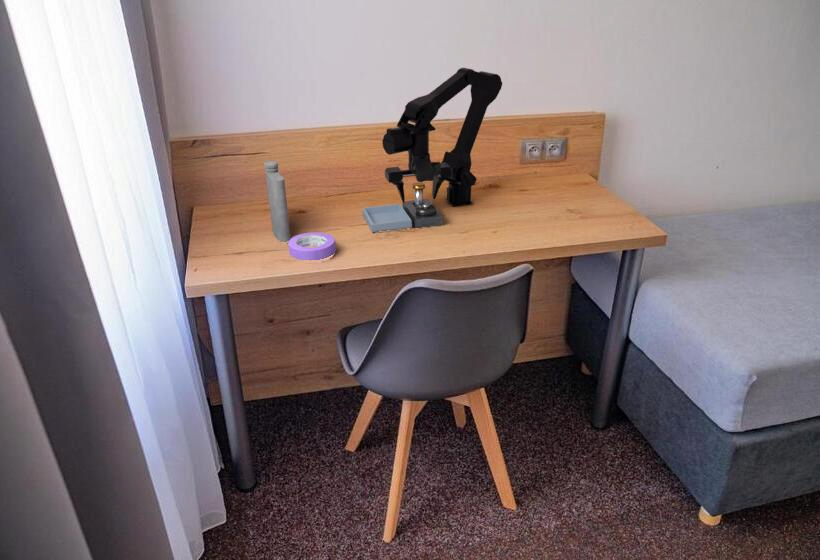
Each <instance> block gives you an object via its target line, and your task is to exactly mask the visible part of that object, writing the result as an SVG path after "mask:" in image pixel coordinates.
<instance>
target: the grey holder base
mask: <svg viewBox="0 0 820 560" xmlns="http://www.w3.org/2000/svg"><path fill="white" fill-rule="evenodd" d="M401 203H402V208H403V209H404V210H405V212H406V213H407V215H408V216H409V217H410V219H411V220H412V224H413V225H412V227H413V228H414V227H415V228H419V229H423V228H422V227H427V228H432V227H431V226H436V227H442V226H441V225H444V224H443V223H444V222H443V220H444V215H443V214H442V213H441V212H440V211H439V209H438V208H437V207H436V205H434V204H433V203H432V201H431V200H430V199H429V198H423V204H420V205H417V206H416V207H415V199H413V200H405V203H403V202H402V201H401ZM415 228H414V229H415Z"/></svg>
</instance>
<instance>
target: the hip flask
mask: <svg viewBox="0 0 820 560" xmlns="http://www.w3.org/2000/svg"><path fill="white" fill-rule="evenodd" d="M263 165H264V171H265V178H266V181H265V182H266V188H267V195H268V196H267V197H268V206H269V213H270V220H271V230H272V234H273V233H274V234H273V236H274V235H275V236H274V238H275V237H276V238H277V239H278V240H279V241H280V242H287V241H289V240H290V239H291V238H292V237H291V231H290V230H291V229H290V222H289V221H290V220H289V210H288V202H287V191H286V183H285V177H284V176H282V175H281V174H280V172H279V162H278V161H276V160H270V161H265V162H264V163H263ZM276 238H275V239H276Z"/></svg>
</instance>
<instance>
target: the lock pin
mask: <svg viewBox="0 0 820 560" xmlns="http://www.w3.org/2000/svg"><path fill="white" fill-rule="evenodd" d="M425 184H426V183H423V182H414V183H412V190H414V200H415V207H416V206H417V205H420V204H423V199H424V189H425V190H426V185H425Z"/></svg>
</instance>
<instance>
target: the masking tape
mask: <svg viewBox="0 0 820 560" xmlns="http://www.w3.org/2000/svg"><path fill="white" fill-rule="evenodd" d="M287 244H288V250H289V253H290V254H289V256H290V255H291V256H292V257H294V258H296V259H299V260H310V261H311V260H320V259H324V258H327V257H329V256H331V255H333V254H334V253H335V251H336V241H335V237H334V236H333V235H331V234H329V233H325V232H317V231H316V232H304V233H300V234H296V235H294V236H292V237H291V239H290V240H289V242H288V243H287ZM313 245H315V246H316V245H317V247H306V246H313ZM335 254H336V253H335Z"/></svg>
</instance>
